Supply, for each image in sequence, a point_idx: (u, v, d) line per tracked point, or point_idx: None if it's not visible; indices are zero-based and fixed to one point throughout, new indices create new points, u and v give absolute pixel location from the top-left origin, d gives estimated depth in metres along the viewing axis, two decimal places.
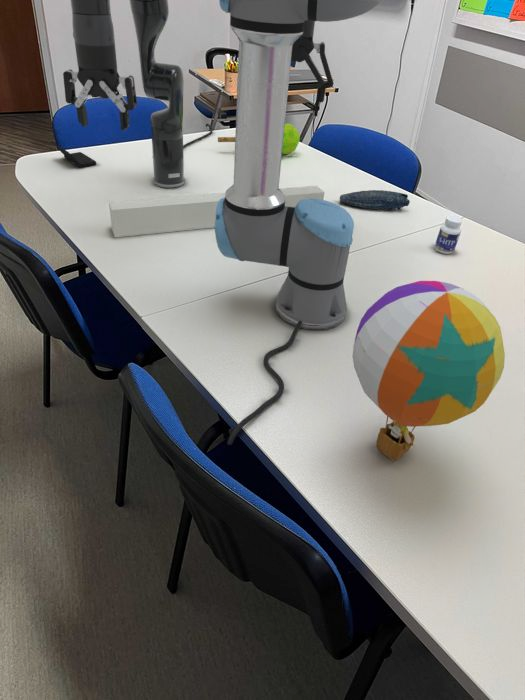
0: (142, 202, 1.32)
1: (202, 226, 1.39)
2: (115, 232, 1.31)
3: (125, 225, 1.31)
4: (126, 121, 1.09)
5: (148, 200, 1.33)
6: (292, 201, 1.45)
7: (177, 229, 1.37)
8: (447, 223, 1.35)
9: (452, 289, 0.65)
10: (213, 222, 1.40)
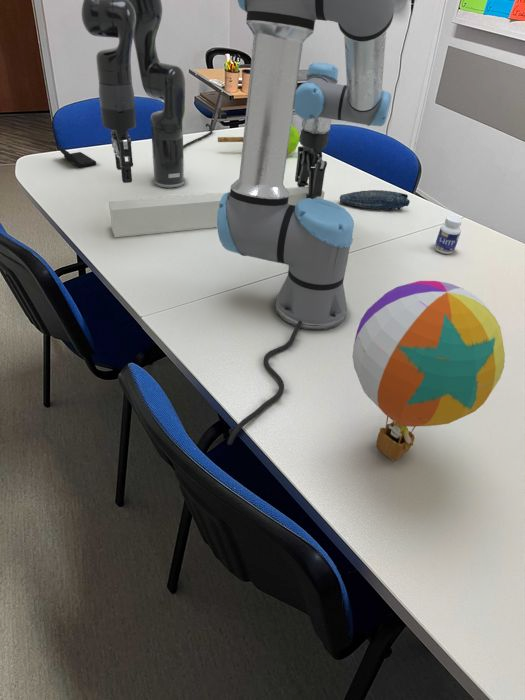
0: (142, 202, 1.32)
1: (202, 226, 1.39)
2: (115, 232, 1.31)
3: (125, 225, 1.31)
4: None
5: (148, 200, 1.33)
6: (292, 201, 1.45)
7: (177, 229, 1.37)
8: (447, 223, 1.35)
9: (452, 289, 0.65)
10: (213, 222, 1.40)
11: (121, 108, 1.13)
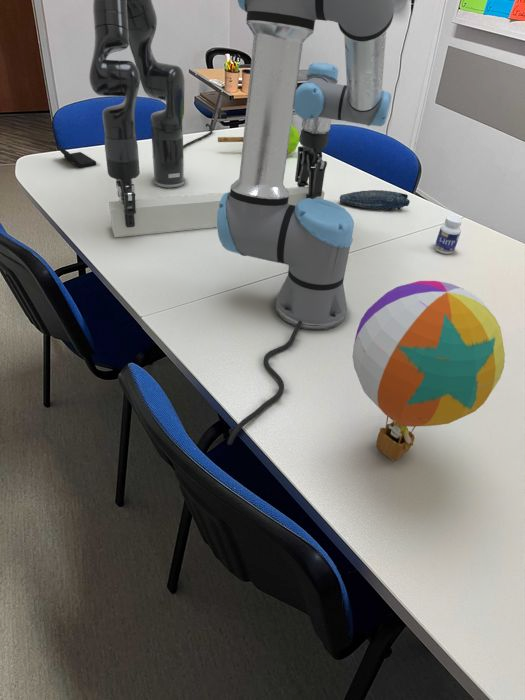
0: (142, 202, 1.32)
1: (202, 226, 1.39)
2: (115, 232, 1.31)
3: (125, 225, 1.31)
4: None
5: (148, 200, 1.33)
6: (292, 201, 1.45)
7: (177, 229, 1.37)
8: (447, 223, 1.35)
9: (452, 289, 0.65)
10: (213, 222, 1.40)
11: (126, 160, 1.20)
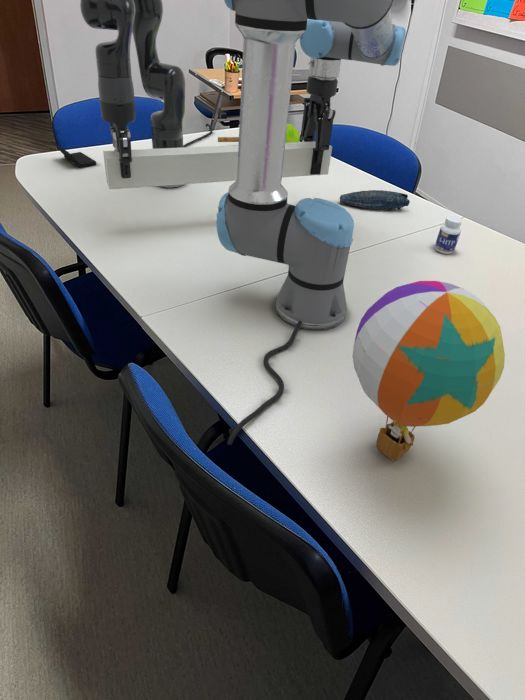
0: (139, 152, 1.24)
1: (202, 180, 1.31)
2: (110, 183, 1.23)
3: (120, 175, 1.23)
4: None
5: (145, 150, 1.25)
6: (297, 155, 1.37)
7: (176, 182, 1.29)
8: (447, 223, 1.35)
9: (452, 289, 0.65)
10: (214, 175, 1.32)
11: (120, 101, 1.12)
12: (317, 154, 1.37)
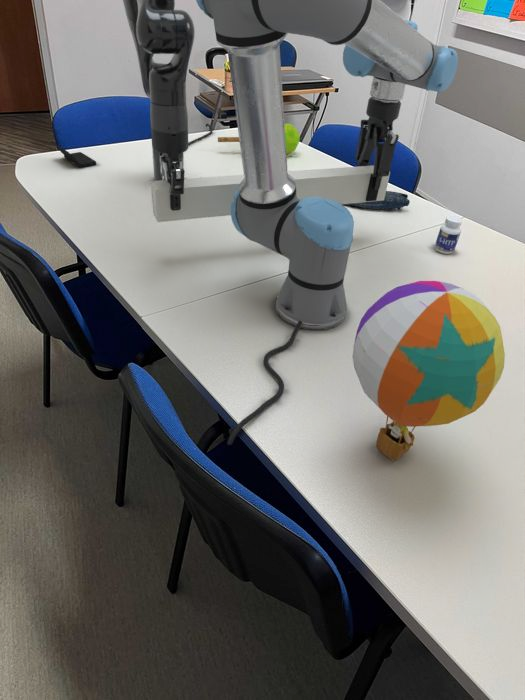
0: (189, 181, 1.15)
1: None
2: (158, 216, 1.14)
3: (169, 207, 1.14)
4: None
5: (195, 179, 1.16)
6: (354, 182, 1.27)
7: (227, 213, 1.20)
8: (447, 223, 1.35)
9: (452, 289, 0.65)
10: None
11: (175, 130, 1.03)
12: (375, 180, 1.28)
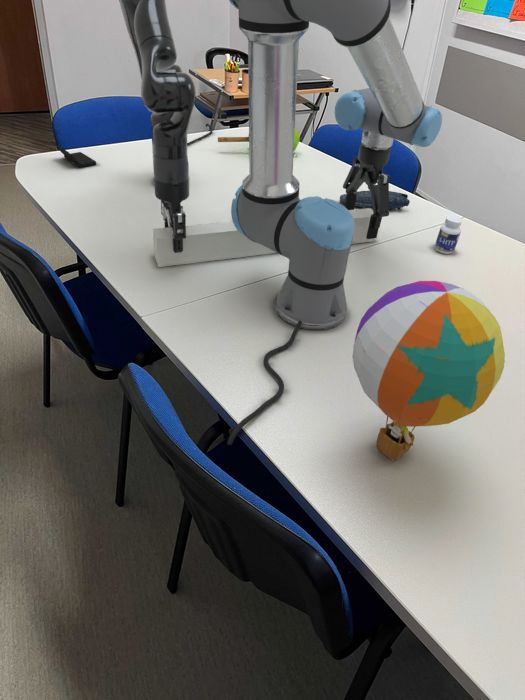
0: (189, 229, 1.22)
1: (250, 253, 1.29)
2: (159, 262, 1.22)
3: (170, 254, 1.21)
4: None
5: (194, 227, 1.24)
6: None
7: (224, 257, 1.27)
8: (447, 223, 1.35)
9: (452, 289, 0.65)
10: (262, 249, 1.30)
11: (176, 181, 1.10)
12: (375, 220, 1.31)
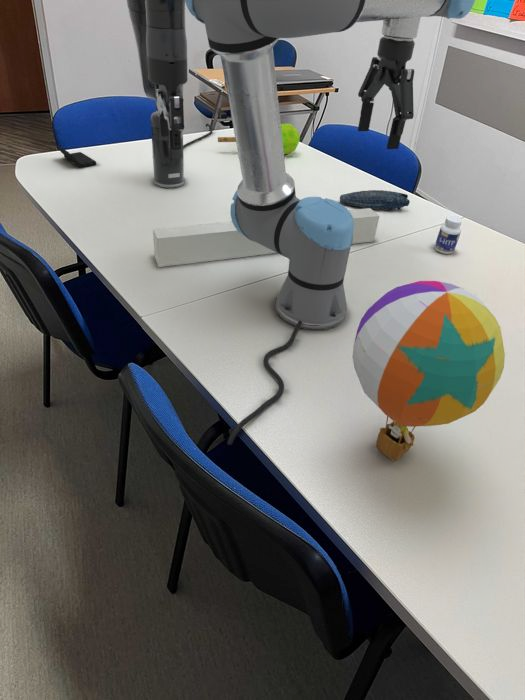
0: (189, 229, 1.22)
1: (250, 253, 1.29)
2: (159, 262, 1.22)
3: (170, 254, 1.21)
4: None
5: (194, 227, 1.24)
6: None
7: (224, 257, 1.27)
8: (447, 223, 1.35)
9: (452, 289, 0.65)
10: (262, 249, 1.30)
11: (173, 58, 0.95)
12: (397, 124, 1.16)
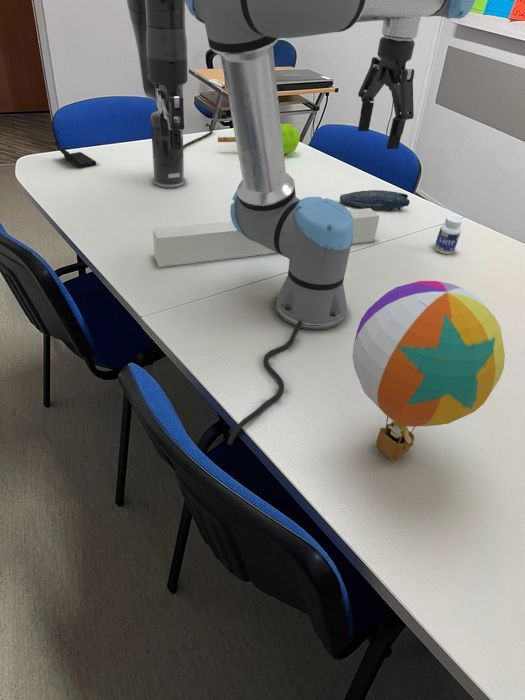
0: (189, 229, 1.22)
1: (250, 253, 1.29)
2: (159, 262, 1.22)
3: (170, 254, 1.21)
4: None
5: (194, 227, 1.24)
6: None
7: (224, 257, 1.27)
8: (447, 223, 1.35)
9: (452, 289, 0.65)
10: (262, 249, 1.30)
11: (173, 58, 0.95)
12: (397, 124, 1.16)
